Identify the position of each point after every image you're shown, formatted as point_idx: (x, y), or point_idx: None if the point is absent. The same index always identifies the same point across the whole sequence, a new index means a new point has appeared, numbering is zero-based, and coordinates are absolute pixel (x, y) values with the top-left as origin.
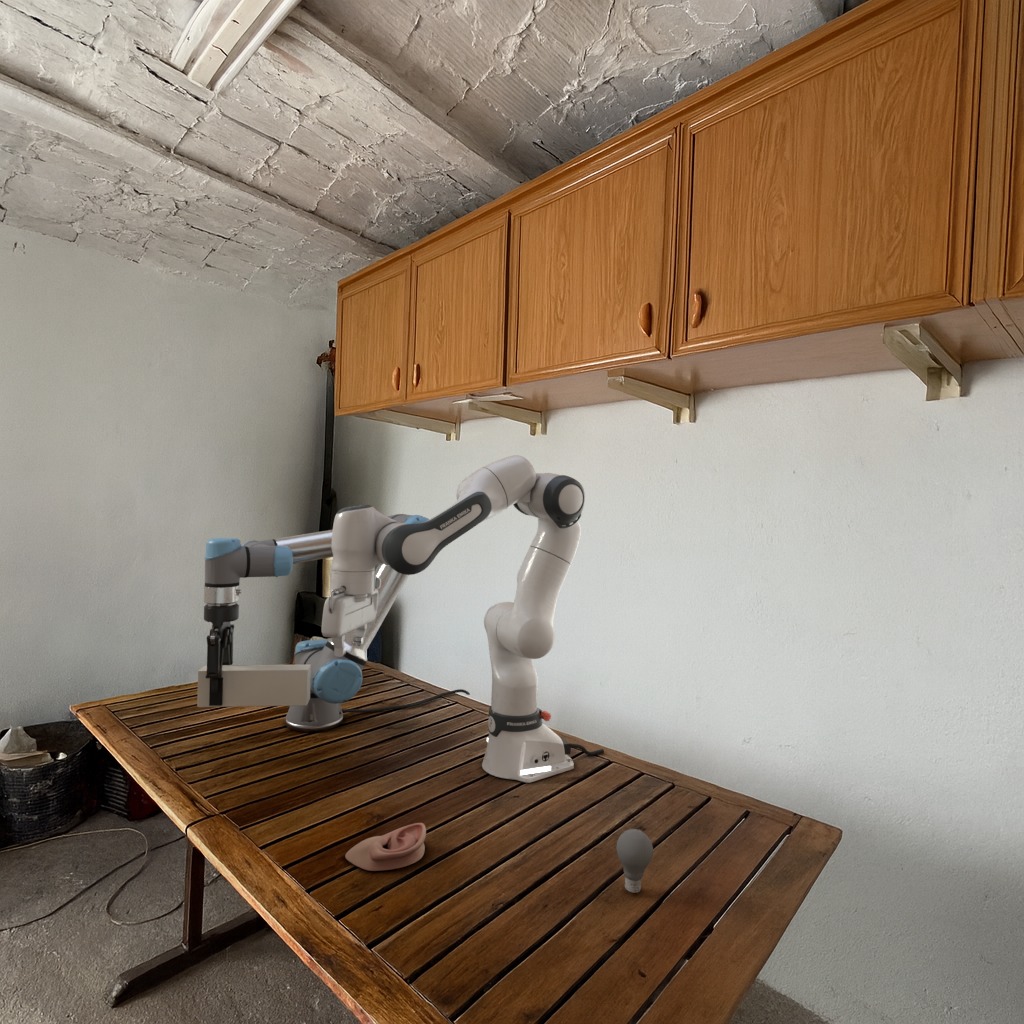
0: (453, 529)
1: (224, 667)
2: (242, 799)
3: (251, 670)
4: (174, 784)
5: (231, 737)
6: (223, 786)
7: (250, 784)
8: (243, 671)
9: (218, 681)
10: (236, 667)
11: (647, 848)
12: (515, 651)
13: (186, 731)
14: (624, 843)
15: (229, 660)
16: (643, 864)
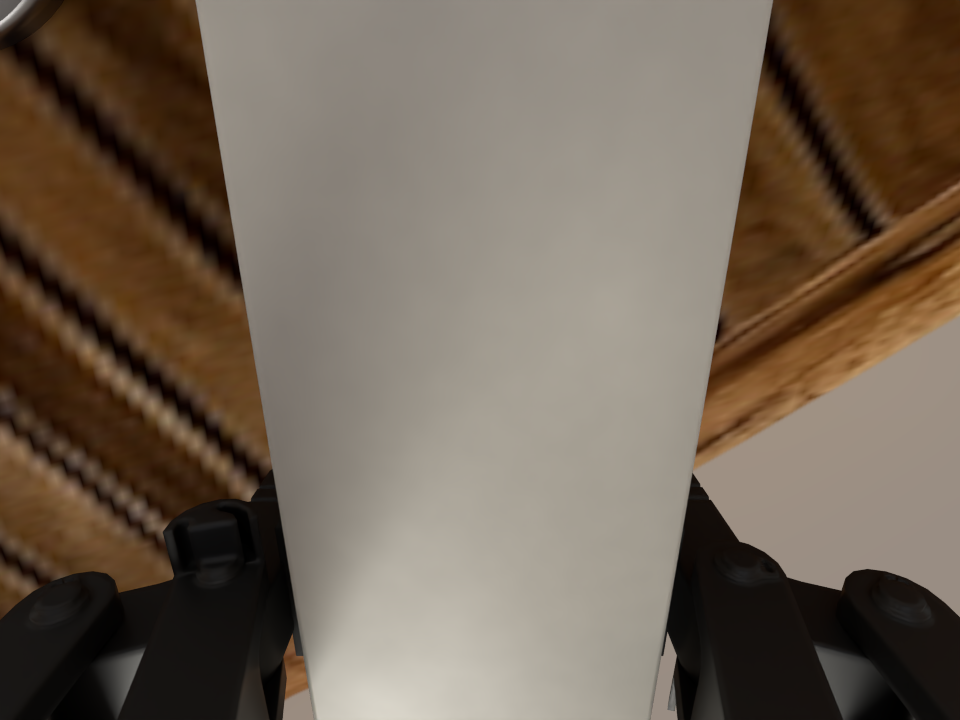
0: None
1: (460, 631)
2: (946, 63)
3: (764, 39)
4: (717, 385)
5: (228, 305)
6: (783, 189)
7: (793, 65)
8: (722, 245)
9: (697, 531)
10: (468, 450)
11: None
12: None
13: (185, 502)
14: None
15: (198, 677)
16: None
